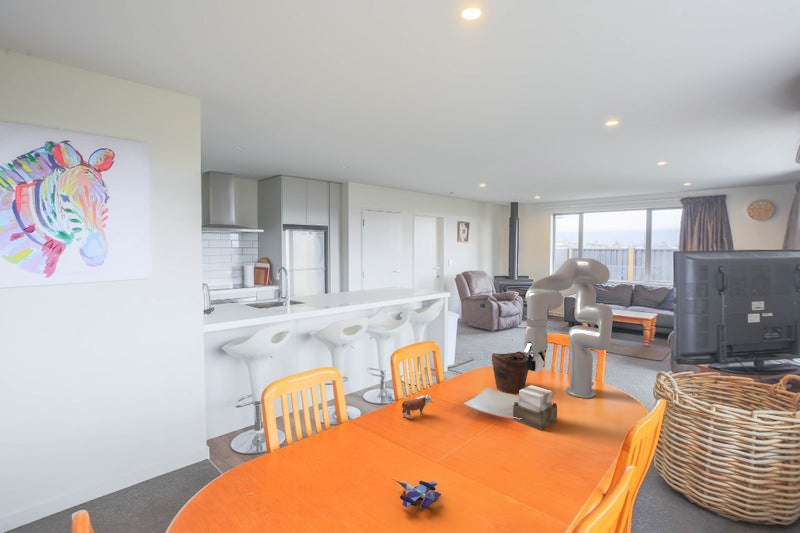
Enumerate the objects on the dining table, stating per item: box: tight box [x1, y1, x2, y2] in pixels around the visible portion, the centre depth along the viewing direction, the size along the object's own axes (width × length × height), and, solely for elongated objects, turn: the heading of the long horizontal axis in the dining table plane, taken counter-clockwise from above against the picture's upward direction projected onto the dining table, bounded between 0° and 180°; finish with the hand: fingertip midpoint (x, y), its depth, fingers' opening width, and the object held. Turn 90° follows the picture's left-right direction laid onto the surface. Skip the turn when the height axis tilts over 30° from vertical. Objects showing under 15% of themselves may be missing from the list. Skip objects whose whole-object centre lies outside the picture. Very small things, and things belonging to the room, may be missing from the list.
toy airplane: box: [392, 478, 442, 511], centre depth 109 cm, size 13×14×4 cm
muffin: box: [531, 353, 544, 373], centre depth 156 cm, size 6×6×7 cm
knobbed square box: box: [512, 384, 558, 431], centre depth 157 cm, size 12×12×12 cm
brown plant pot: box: [491, 351, 529, 394], centre depth 192 cm, size 18×20×18 cm
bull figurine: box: [401, 394, 434, 420], centre depth 162 cm, size 4×13×8 cm, turn 112°
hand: (535, 368), depth 156 cm, fingers closed on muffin, 6 cm apart
